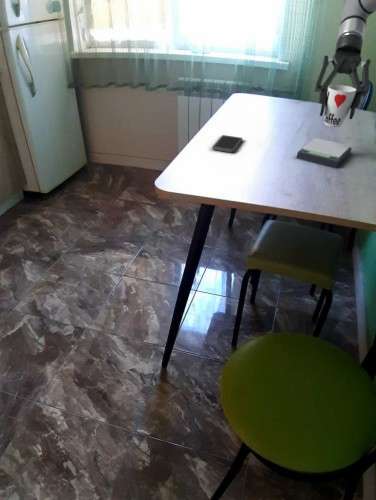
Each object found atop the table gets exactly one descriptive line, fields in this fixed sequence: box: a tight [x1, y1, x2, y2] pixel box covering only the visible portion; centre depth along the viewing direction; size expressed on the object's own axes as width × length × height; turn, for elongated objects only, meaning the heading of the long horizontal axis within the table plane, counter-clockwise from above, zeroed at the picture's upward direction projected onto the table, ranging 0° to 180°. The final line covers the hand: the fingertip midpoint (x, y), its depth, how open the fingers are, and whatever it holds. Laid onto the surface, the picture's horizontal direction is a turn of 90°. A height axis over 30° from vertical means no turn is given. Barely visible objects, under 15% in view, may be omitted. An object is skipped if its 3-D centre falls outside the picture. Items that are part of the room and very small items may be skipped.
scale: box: [296, 137, 353, 169], centre depth 133 cm, size 13×15×3 cm
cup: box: [323, 84, 356, 128], centre depth 125 cm, size 8×8×10 cm
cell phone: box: [211, 134, 243, 154], centre depth 137 cm, size 7×14×1 cm, turn 162°
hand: (336, 114), depth 123 cm, fingers closed on cup, 8 cm apart
